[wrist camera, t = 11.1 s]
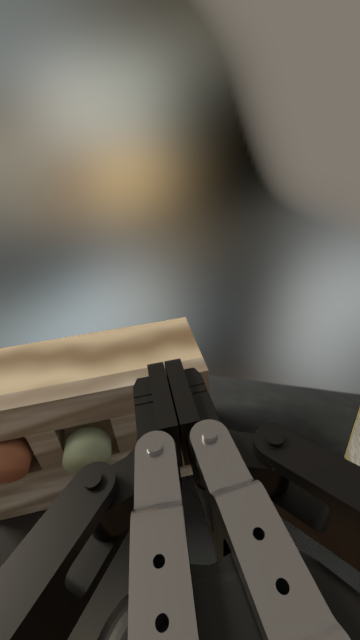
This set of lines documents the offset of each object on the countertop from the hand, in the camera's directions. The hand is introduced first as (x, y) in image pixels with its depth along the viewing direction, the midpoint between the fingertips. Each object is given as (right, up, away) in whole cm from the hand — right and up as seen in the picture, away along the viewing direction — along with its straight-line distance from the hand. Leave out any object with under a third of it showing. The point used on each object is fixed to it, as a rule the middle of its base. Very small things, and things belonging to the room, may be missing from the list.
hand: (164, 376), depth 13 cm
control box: (-8, -14, +24) cm, 29 cm away
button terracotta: (-15, -12, +15) cm, 25 cm away
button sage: (-8, -11, +15) cm, 20 cm away
